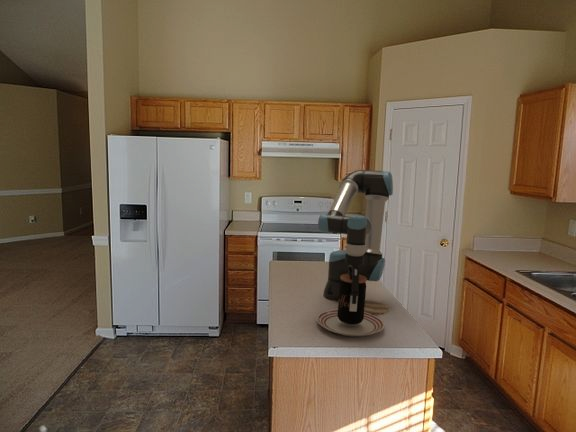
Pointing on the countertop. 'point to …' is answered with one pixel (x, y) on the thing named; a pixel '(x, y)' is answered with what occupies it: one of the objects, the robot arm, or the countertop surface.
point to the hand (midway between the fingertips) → (351, 305)
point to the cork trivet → (375, 308)
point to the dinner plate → (364, 328)
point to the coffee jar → (344, 300)
